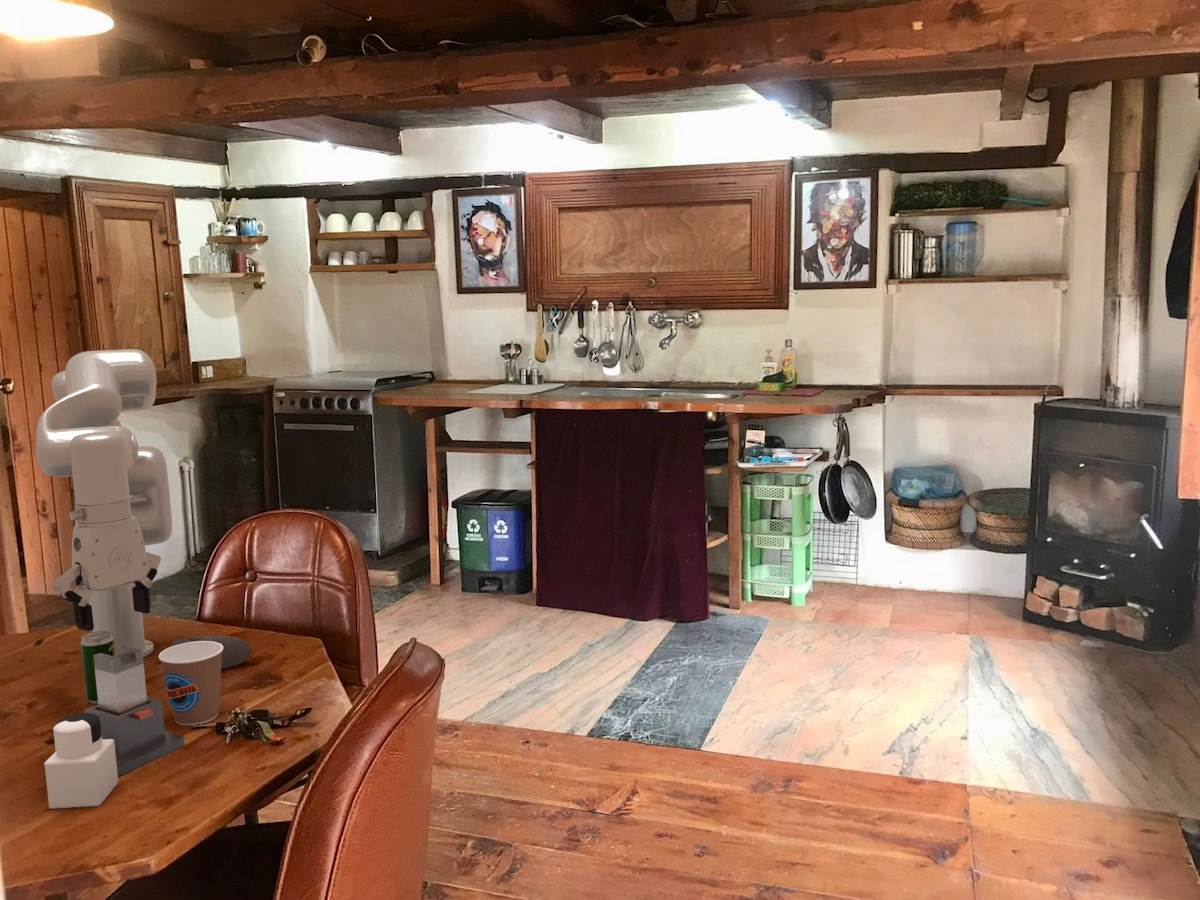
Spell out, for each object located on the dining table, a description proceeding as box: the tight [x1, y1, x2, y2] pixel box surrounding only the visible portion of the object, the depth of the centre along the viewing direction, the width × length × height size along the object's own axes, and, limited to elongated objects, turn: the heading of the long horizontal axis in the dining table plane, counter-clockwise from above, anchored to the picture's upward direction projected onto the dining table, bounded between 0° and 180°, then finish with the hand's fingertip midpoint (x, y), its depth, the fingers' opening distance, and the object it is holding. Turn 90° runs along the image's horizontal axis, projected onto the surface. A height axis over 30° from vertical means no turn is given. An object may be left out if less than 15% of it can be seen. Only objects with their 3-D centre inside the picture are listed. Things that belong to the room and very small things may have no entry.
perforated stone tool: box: [170, 635, 252, 670], centre depth 196 cm, size 15×5×7 cm, turn 112°
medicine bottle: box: [43, 712, 119, 810], centre depth 146 cm, size 7×7×12 cm
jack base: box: [83, 696, 186, 778], centre depth 160 cm, size 12×12×8 cm
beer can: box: [80, 631, 115, 705], centre depth 182 cm, size 5×5×12 cm
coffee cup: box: [158, 641, 223, 727], centre depth 173 cm, size 10×10×12 cm
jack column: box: [93, 645, 148, 716], centre depth 160 cm, size 5×5×15 cm
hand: (114, 620), depth 157 cm, fingers open, 9 cm apart
